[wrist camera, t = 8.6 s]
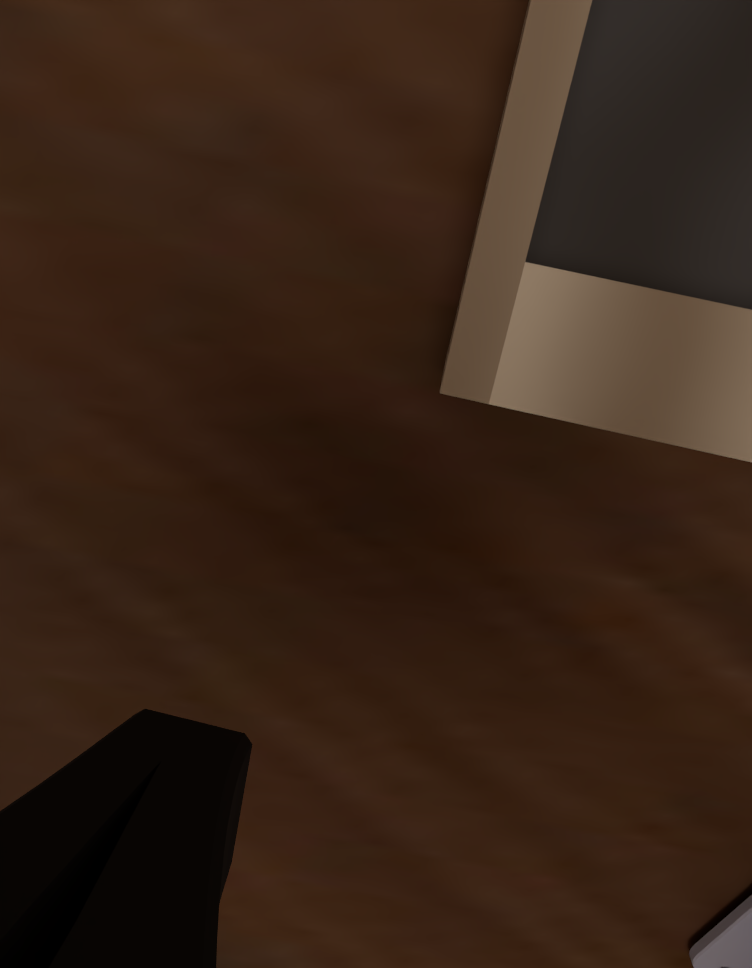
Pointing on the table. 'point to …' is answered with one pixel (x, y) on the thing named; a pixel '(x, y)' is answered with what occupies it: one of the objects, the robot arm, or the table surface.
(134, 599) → the table surface
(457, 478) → the table surface
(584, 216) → the trap deck
